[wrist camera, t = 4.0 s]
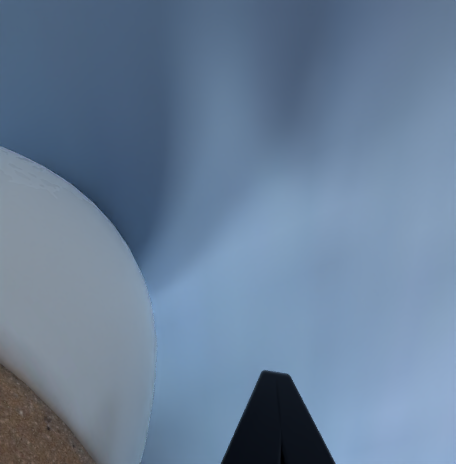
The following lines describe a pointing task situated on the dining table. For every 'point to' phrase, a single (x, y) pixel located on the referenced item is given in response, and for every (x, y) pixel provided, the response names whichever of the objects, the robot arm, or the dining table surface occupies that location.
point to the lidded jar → (69, 327)
